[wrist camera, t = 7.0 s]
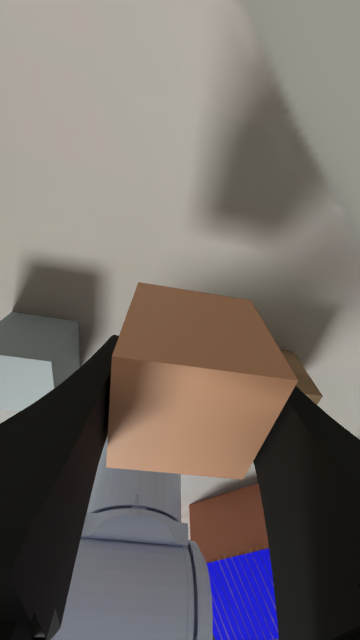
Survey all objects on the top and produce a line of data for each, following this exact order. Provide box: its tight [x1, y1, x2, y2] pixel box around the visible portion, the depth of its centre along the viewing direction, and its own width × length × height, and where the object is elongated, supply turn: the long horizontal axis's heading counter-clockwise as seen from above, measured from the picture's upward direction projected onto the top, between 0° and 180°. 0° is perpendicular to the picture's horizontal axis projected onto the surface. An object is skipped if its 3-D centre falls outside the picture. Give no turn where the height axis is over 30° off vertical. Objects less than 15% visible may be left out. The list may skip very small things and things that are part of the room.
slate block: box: [0, 312, 80, 411], centre depth 19 cm, size 5×5×5 cm
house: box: [189, 483, 279, 640], centre depth 30 cm, size 12×20×12 cm, turn 122°
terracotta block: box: [106, 282, 298, 479], centre depth 10 cm, size 5×5×5 cm
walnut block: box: [280, 350, 322, 405], centre depth 20 cm, size 5×5×5 cm
